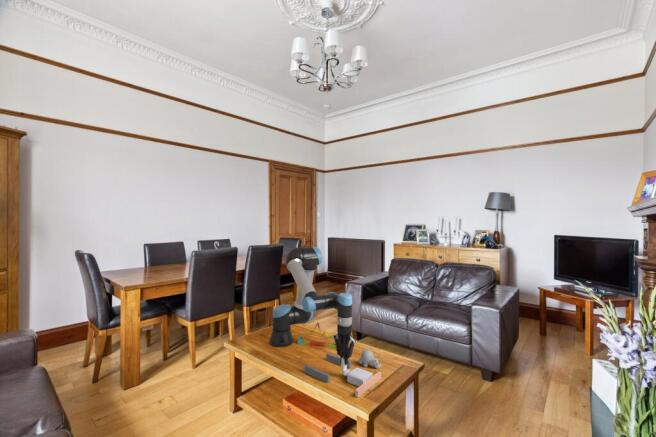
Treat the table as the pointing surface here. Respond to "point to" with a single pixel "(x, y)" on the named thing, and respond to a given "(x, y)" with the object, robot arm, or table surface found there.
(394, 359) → the table surface
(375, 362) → the chubby cartoon animal
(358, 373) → the charger
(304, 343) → the chart
